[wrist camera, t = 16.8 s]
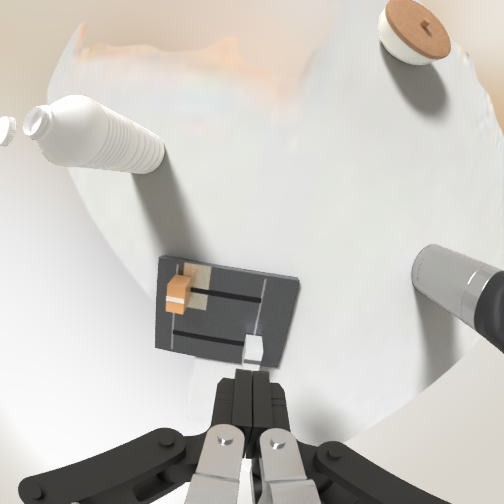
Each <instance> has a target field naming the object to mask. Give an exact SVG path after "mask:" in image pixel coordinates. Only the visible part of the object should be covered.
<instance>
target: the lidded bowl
mask: <svg viewBox="0 0 504 504" xmlns="http://www.w3.org/2000/svg"><path fill="white" fill-rule="evenodd" d="M377 28H378V34H379V37H380V40H381V42H382V44H383V46H384V48H385V49H386V50H387V51H388V52H389V53H390V54H391V55H392V56H393V57H395V58H397V59H399V60H401V61H403V62H405V63H408V64H413V65H425V64H430V63H433V62H435V61H437V60H439V59H442V58H444V57H446V56H447V55H448V54H449V53H450V49H451V44H450V39H449V36H448V34H447V32H446V30H445V28H444V27H443V25H442V24H441V23H440V21H439V20H438V19H437V18H436V17H435V16H434V15H433V14H432V13H431V12H430V11H429V10H427V9H426V8H425V7H424V6H422V5H420V4H419V3H417V2H415V1H412V0H390V1H389V2H388V4H387V5H386V7H385V8H384V10H383V11H382V13H381V15H380V17H379V20H378V26H377Z"/></svg>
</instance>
